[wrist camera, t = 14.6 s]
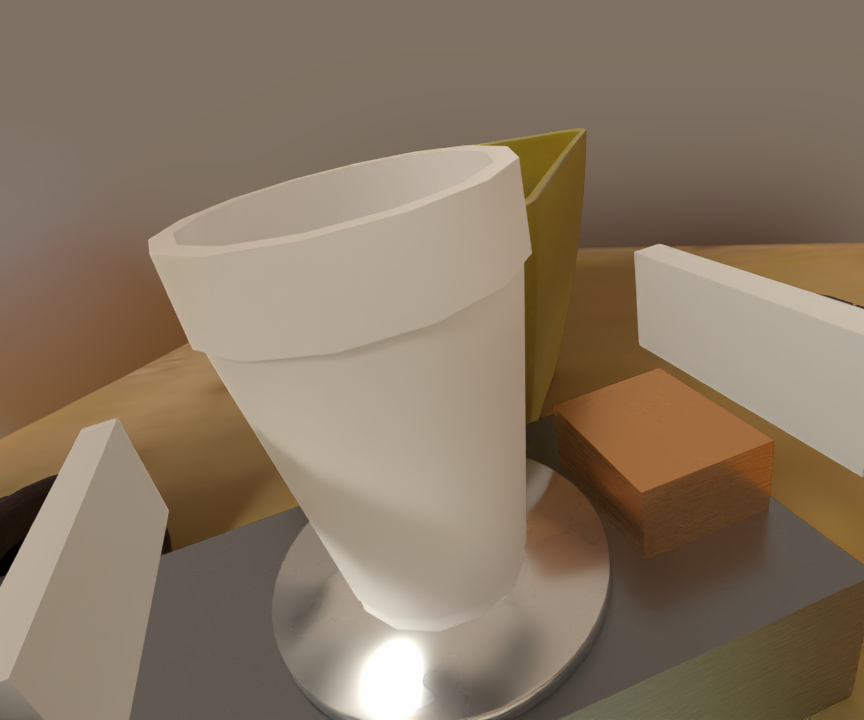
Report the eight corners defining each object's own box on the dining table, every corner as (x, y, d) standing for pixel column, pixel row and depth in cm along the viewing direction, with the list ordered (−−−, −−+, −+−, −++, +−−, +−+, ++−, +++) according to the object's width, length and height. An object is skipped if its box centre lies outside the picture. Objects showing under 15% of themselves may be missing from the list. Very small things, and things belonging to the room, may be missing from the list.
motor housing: (150, 1043, 16) (-36, 900, 12) (191, 652, 27) (104, 512, 23) (851, 694, 20) (891, 498, 16) (631, 481, 31) (622, 335, 27)
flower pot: (606, 345, 45) (588, 122, 38) (571, 517, 30) (530, 199, 22) (392, 350, 53) (342, 165, 45) (278, 490, 37) (173, 245, 30)
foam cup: (521, 725, 15) (406, 239, 9) (255, 635, 19) (60, 268, 13) (594, 483, 22) (557, 128, 16) (390, 457, 26) (302, 169, 20)
